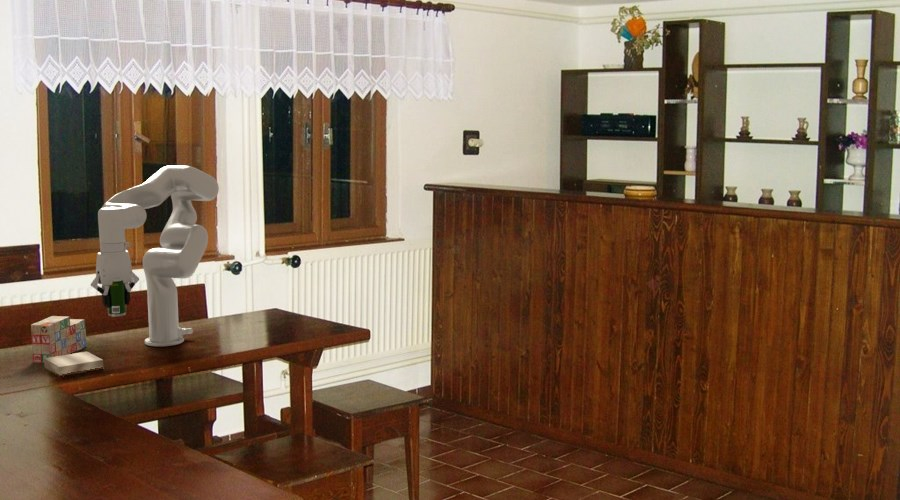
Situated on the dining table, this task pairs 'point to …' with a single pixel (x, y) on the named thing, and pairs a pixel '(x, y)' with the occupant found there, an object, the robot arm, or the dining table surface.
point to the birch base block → (73, 362)
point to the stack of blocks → (57, 337)
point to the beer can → (117, 298)
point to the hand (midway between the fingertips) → (116, 305)
